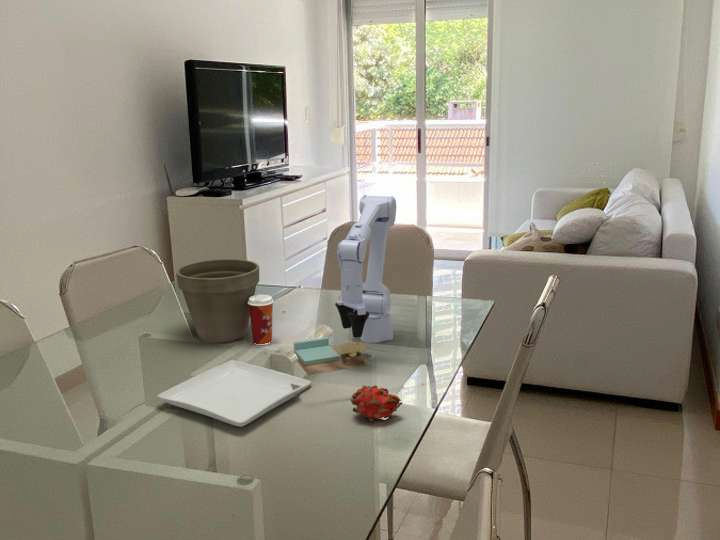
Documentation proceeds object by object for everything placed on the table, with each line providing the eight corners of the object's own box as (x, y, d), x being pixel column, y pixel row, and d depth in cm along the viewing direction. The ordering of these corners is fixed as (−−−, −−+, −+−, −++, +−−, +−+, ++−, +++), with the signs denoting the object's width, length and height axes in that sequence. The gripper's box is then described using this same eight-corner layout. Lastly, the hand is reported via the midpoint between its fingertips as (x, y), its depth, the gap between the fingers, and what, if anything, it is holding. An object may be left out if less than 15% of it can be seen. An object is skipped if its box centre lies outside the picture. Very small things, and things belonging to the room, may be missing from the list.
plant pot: (178, 326, 224) (173, 260, 219) (254, 318, 232) (251, 254, 226) (184, 353, 201) (178, 281, 196) (269, 344, 209) (266, 274, 203)
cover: (327, 347, 201) (327, 337, 200) (339, 359, 192) (339, 349, 191) (293, 352, 198) (293, 342, 197) (304, 365, 189) (304, 354, 188)
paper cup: (270, 347, 206) (268, 302, 202) (245, 345, 207) (243, 300, 204) (278, 338, 213) (277, 294, 210) (254, 336, 215) (252, 293, 211)
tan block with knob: (362, 357, 194) (362, 340, 193) (365, 360, 192) (365, 343, 191) (338, 361, 191) (338, 344, 190) (342, 364, 189) (341, 347, 188)
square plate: (242, 437, 154) (241, 421, 153) (155, 408, 168) (154, 394, 167) (313, 393, 177) (313, 378, 176) (232, 370, 191) (231, 357, 190)
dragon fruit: (347, 421, 164) (397, 428, 164) (348, 415, 156) (401, 423, 156) (352, 385, 167) (401, 393, 167) (353, 378, 159) (405, 386, 159)
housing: (349, 349, 204) (349, 338, 203) (371, 369, 190) (371, 357, 189) (290, 358, 198) (290, 347, 197) (308, 380, 183) (308, 367, 182)
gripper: (328, 279, 191) (329, 326, 194) (347, 293, 178) (348, 343, 181) (352, 276, 194) (352, 322, 197) (373, 290, 181) (373, 339, 184)
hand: (352, 332), depth 189 cm, fingers open, 7 cm apart
